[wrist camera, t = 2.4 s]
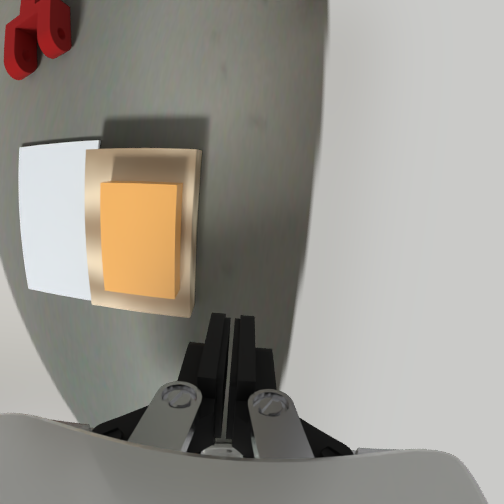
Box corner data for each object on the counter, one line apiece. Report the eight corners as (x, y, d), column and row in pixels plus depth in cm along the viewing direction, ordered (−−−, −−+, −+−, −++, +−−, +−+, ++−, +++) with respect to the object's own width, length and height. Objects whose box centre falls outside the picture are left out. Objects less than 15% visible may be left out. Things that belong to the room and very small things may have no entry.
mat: (103, 300, 32) (102, 302, 32) (30, 287, 32) (28, 288, 31) (100, 140, 27) (98, 140, 27) (21, 147, 27) (19, 147, 26)
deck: (194, 304, 32) (189, 317, 29) (103, 293, 32) (91, 304, 29) (202, 150, 28) (196, 149, 25) (99, 149, 27) (85, 149, 24)
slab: (179, 289, 28) (174, 299, 26) (113, 281, 28) (104, 290, 26) (183, 183, 26) (177, 184, 23) (111, 180, 25) (100, 182, 23)
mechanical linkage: (73, 56, 24) (50, 44, 19) (28, 82, 24) (3, 76, 20) (71, -30, 20) (54, -45, 15) (30, -5, 20) (11, -16, 15)
